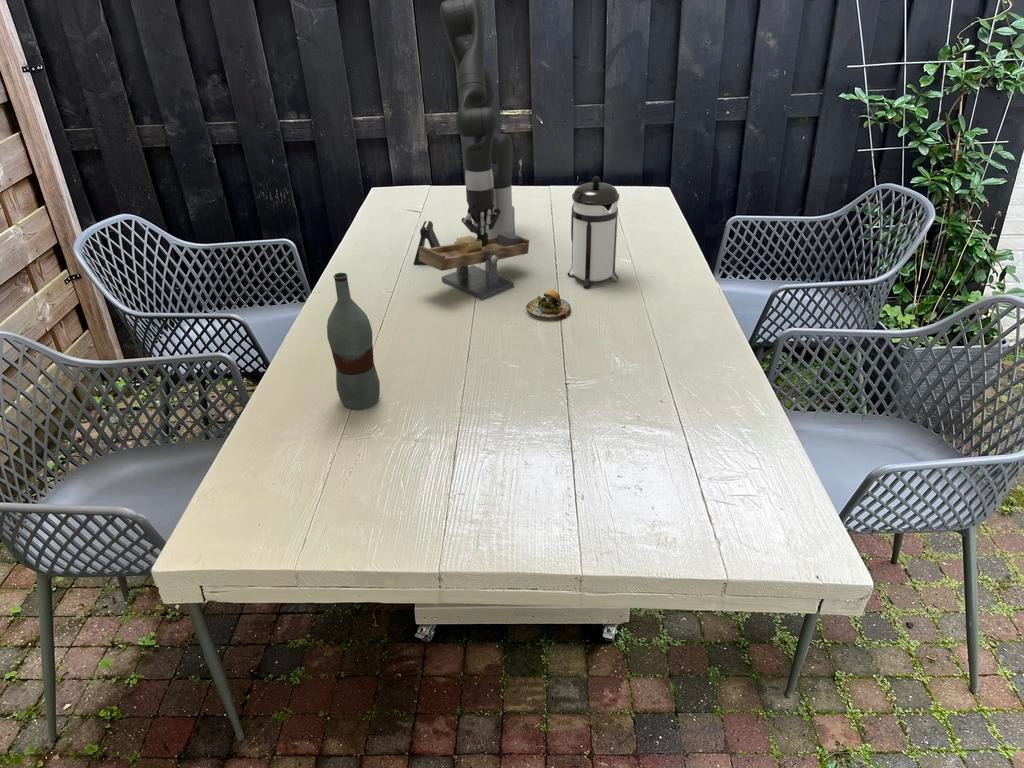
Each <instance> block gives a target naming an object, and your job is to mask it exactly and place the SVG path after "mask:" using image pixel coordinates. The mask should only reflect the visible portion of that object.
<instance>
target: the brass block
mask: <svg viewBox="0 0 1024 768" xmlns="http://www.w3.org/2000/svg"><path fill="white" fill-rule="evenodd" d="M456 241H457V243H456V252H457V253H459V254H462V255H464V254H469V253H474V252H480V251H482V240H480V239H477V237H474V236H472V235H468V236H462V237H456Z"/></svg>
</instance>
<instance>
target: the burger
mask: <svg viewBox="0 0 1024 768" xmlns="http://www.w3.org/2000/svg"><path fill="white" fill-rule="evenodd" d="M556 286H557V285H556V284H554V289H551V290H547V291H545V292H544V293H543V297H541V296H540V295H538V296H537V297H536V298H534V299H533V300H531V301H529V302H528V303H527V304H526V305H525V306H526V307H525V309H526V310H527V311H528V312H529V313H531V314H533V315H534V316H536V317H539V318H547V319H551V318H557V317H558V320H560V321H561V320H564V319H567V315H568V316H571V313H572V312H571V310H572V309H571V305H570V303H569V302H568V301H567V300H564V299H562V298H561V296H560V295H561V294H559V292H557V291H556V290H555V288H556Z"/></svg>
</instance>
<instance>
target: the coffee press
mask: <svg viewBox="0 0 1024 768" xmlns="http://www.w3.org/2000/svg"><path fill="white" fill-rule="evenodd" d="M571 195H572V196H571V198H572V201H573V203H572V206H571V218H570V219H571V220H570V221H571V225H570V226H571V227H570V234H571V235H570V236H571V237H570V238H571V245H572V247H571V253H572V254H571V268H570V270H569V272H567V276H568V277H569V278H572V277H574V276H575V277H576V278H578V279H579V280H582V281H584V284H583V288H584V289H588V290H589V289H590V286H591V283H592V282H599V281H600V282H601V281H605V280H608V279H609V280H611V281H612V282H613V283H617V282H618V281H619V276H618V275H617V273H616V257H617V256H616V255H617V237H618V234H617V233H618V215H619V208H618V203H619V202H618V201H619V200H620V193H619V192H618V190H617V189H616V187H615V186H614V185H612V184H609V183H606V182H601V178H600V176H598V175H595V176H593V177H592V178H591V182H585V183H582V184H580V185H578V186H577V187H576V188H575V189H574V192H573V193H572V194H571ZM571 271H572V273H573V274H571V273H570V272H571ZM613 275H614V277H612V276H613ZM614 278H615V279H614Z"/></svg>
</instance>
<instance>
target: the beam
mask: <svg viewBox="0 0 1024 768" xmlns="http://www.w3.org/2000/svg"><path fill="white" fill-rule="evenodd" d="M503 233H506V232H503ZM529 244H530V239H527V238H524V237H522V239H521V244H517V245H511V246H506V247H504V246H501V245H498V244H497V237H491V238H488V243H487V246H484V247H482V251H480V252H474V253H469V254H464V255H462V254H459V253H457V252H456V244H454V243H453V244H447V245H440V247H434V248H431V247H425V246H424V247H423V246H420V247H419V261H421V262H423V263H425V264H427V265H426V266H430V267H432V268H434V269H436V270H438V271H440V272H443V271H449V270H453V269H457V268H459V267H464V266H468V267H469V266H472V265H474V266H475V265H479V264H483V263H484V264H485V255H487V254H490V253H496V254H497V257H498V260H503V259H507V258H513V257H518V256H523V255H527V254H528V253H529V246H530V245H529Z"/></svg>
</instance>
